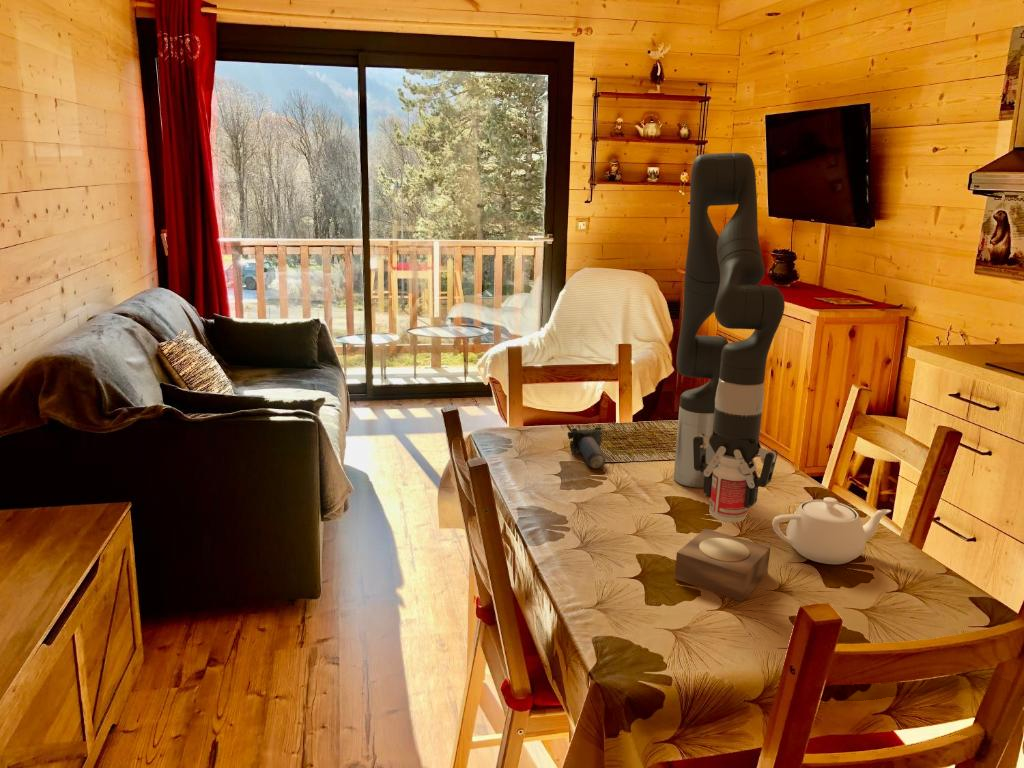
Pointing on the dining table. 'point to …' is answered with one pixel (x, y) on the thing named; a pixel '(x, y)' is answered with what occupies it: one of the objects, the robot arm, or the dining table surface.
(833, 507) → the teapot
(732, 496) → the pill bottle
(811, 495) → the dining table surface
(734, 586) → the pedestal
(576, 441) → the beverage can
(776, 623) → the dining table surface
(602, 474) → the dining table surface
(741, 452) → the robot arm
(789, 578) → the dining table surface
